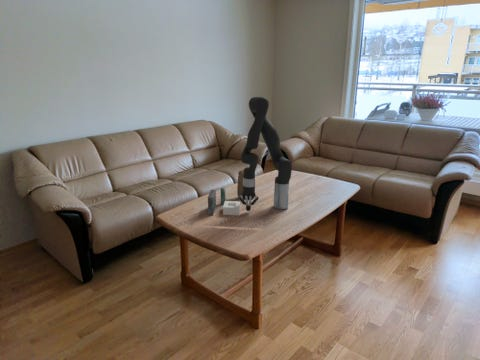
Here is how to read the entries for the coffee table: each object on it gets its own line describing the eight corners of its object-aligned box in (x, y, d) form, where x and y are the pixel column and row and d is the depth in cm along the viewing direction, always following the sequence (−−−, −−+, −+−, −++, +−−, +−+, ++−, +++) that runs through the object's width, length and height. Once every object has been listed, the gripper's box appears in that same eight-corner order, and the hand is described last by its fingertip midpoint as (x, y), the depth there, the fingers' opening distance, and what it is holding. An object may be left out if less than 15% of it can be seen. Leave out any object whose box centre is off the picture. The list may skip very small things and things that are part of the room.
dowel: (225, 204, 228) (225, 187, 224) (225, 206, 225) (225, 189, 221) (220, 204, 228) (220, 187, 224) (220, 206, 225) (220, 189, 221)
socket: (240, 208, 219) (240, 201, 217) (239, 215, 209) (239, 207, 208) (224, 208, 219) (224, 200, 218) (223, 214, 210) (223, 207, 208)
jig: (242, 209, 221) (242, 190, 216) (240, 218, 208) (241, 198, 204) (211, 208, 222) (211, 189, 218) (208, 217, 210) (207, 197, 205)
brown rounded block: (242, 200, 235) (243, 173, 228) (236, 197, 240) (236, 170, 234) (254, 197, 241) (255, 170, 235) (247, 194, 247) (248, 167, 240)
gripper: (259, 182, 211) (258, 208, 217) (238, 182, 212) (238, 207, 217) (259, 187, 204) (258, 213, 209) (237, 186, 205) (237, 212, 210)
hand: (248, 210), depth 213 cm, fingers closed
